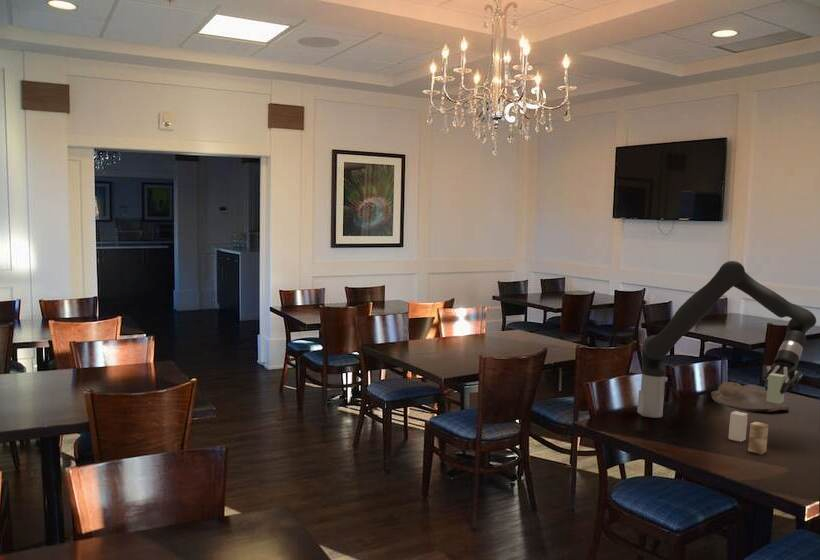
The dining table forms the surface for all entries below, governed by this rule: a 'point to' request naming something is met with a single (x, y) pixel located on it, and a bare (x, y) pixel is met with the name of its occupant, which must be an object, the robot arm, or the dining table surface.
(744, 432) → the cream block
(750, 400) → the flat cap
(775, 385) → the sage block
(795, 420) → the dining table surface
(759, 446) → the oak block
